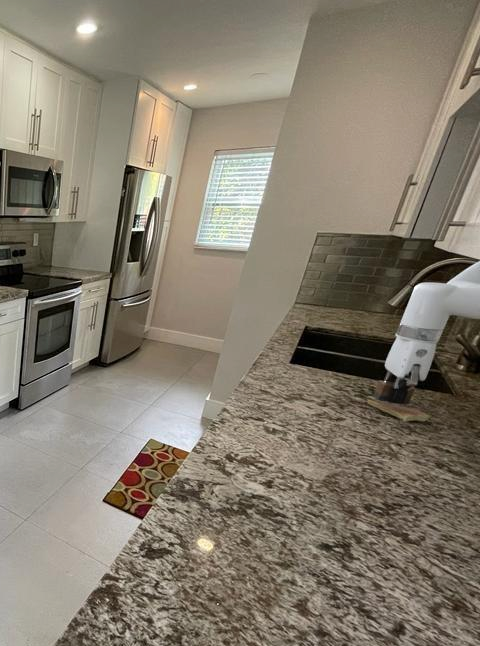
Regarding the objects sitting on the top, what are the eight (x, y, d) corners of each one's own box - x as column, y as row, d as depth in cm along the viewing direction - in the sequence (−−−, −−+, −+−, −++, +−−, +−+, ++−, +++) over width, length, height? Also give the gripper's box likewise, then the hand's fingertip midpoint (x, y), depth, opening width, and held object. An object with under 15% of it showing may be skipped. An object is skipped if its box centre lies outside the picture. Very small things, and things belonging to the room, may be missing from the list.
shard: (364, 403, 116) (366, 397, 115) (390, 403, 116) (393, 397, 115) (403, 421, 106) (406, 415, 105) (432, 421, 106) (435, 415, 105)
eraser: (402, 399, 109) (408, 383, 107) (408, 404, 106) (415, 388, 104) (372, 395, 111) (379, 380, 110) (378, 400, 108) (384, 384, 107)
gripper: (458, 344, 94) (425, 415, 100) (421, 327, 108) (394, 390, 114) (414, 339, 97) (385, 409, 103) (384, 323, 111) (360, 385, 117)
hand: (390, 398), depth 109 cm, fingers closed on eraser, 3 cm apart
